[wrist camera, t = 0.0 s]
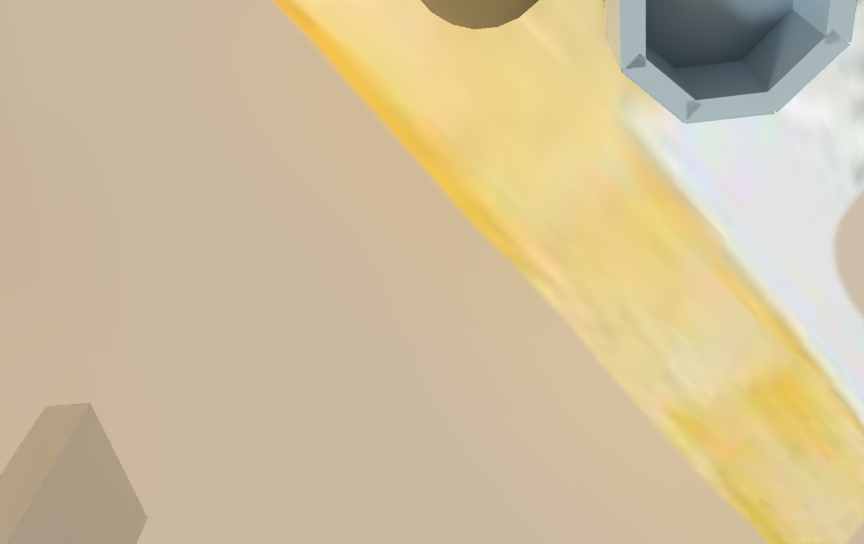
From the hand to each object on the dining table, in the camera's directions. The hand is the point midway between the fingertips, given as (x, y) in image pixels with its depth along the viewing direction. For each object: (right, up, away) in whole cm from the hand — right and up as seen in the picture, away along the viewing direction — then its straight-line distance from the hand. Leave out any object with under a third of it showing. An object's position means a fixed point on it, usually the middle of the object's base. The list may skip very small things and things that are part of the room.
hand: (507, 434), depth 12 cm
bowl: (+11, +15, +23) cm, 30 cm away
